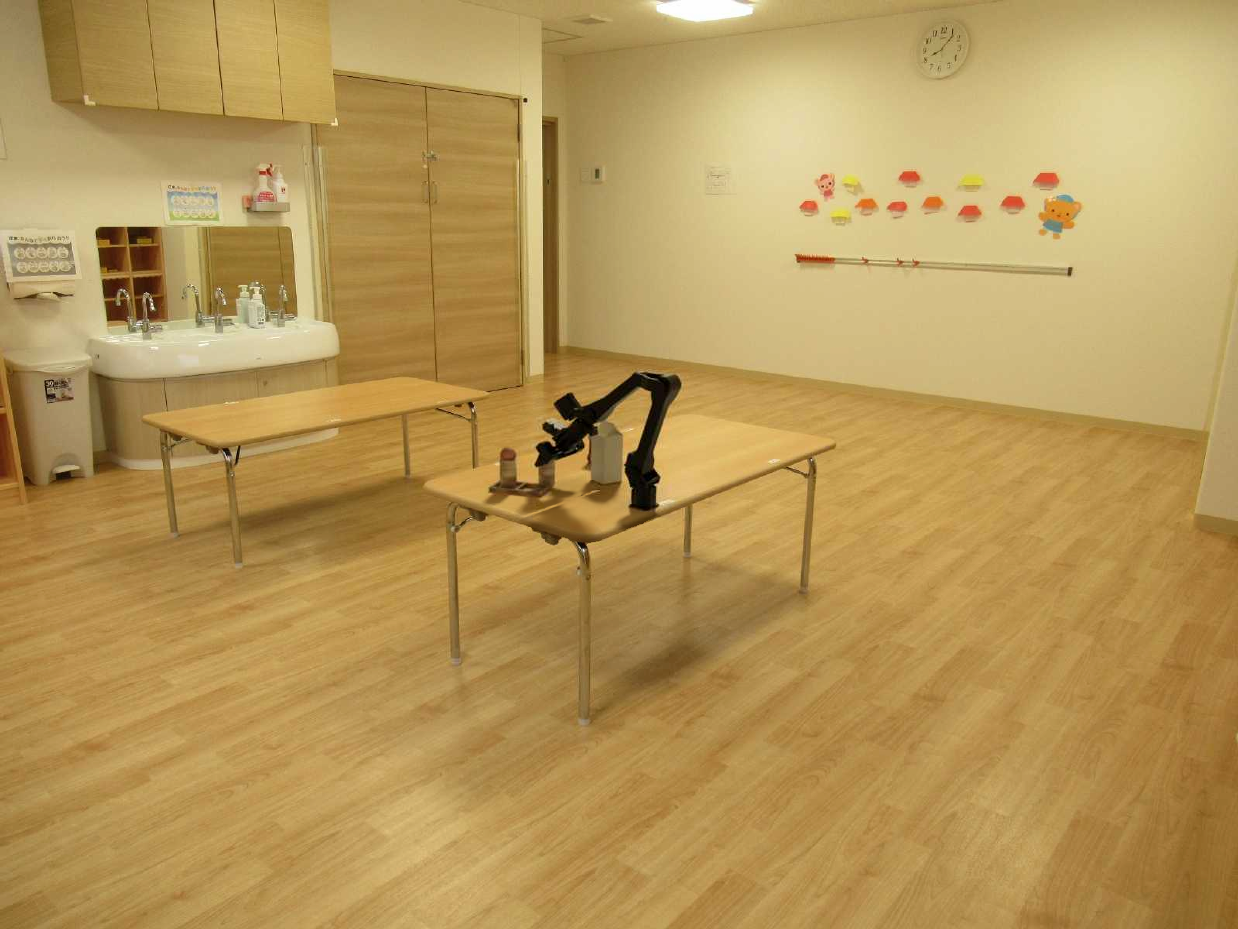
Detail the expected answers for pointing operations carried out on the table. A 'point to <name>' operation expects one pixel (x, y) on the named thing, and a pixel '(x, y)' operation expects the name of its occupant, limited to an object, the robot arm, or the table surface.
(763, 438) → the table surface
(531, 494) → the doll tray
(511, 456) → the red peg doll
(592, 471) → the milk carton
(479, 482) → the table surface
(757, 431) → the table surface
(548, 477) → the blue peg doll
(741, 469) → the table surface
